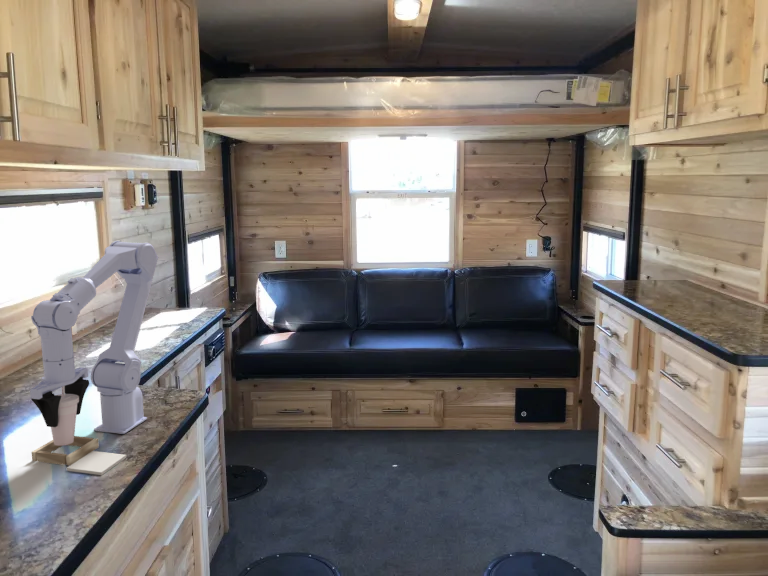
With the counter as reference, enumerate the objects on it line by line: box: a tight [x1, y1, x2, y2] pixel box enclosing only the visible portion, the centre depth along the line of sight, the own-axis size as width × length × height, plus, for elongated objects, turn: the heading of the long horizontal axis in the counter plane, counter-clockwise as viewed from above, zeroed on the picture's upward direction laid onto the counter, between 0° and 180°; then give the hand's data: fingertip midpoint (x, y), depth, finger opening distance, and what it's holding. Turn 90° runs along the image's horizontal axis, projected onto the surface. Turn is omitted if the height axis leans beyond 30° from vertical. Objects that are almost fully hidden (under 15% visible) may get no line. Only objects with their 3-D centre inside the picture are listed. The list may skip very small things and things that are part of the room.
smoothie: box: [50, 386, 79, 447], centre depth 130 cm, size 6×6×14 cm
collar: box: [31, 435, 100, 467], centre depth 131 cm, size 9×9×2 cm
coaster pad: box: [66, 450, 127, 476], centre depth 127 cm, size 8×8×1 cm
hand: (63, 419), depth 130 cm, fingers closed on smoothie, 6 cm apart
